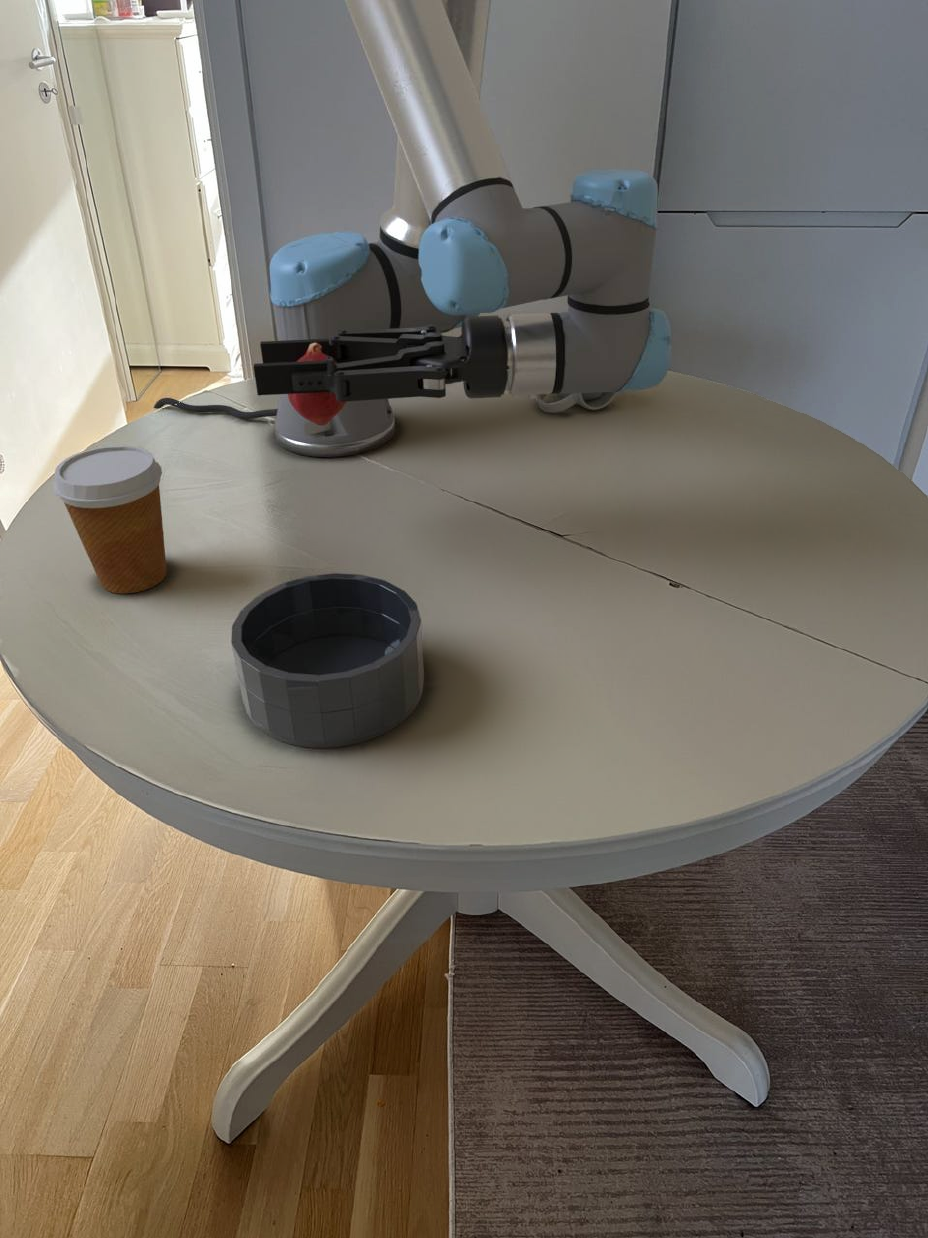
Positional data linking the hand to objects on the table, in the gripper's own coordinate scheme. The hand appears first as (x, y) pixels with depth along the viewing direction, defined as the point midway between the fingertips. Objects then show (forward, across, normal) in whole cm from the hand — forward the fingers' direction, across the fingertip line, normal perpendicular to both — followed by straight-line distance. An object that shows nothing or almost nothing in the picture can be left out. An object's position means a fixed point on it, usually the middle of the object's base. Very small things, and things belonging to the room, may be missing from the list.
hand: (259, 367), depth 86 cm
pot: (-6, -26, -18) cm, 32 cm away
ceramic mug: (-37, +32, -18) cm, 52 cm away
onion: (-5, 0, -6) cm, 8 cm away
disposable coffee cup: (+14, -6, -18) cm, 24 cm away
